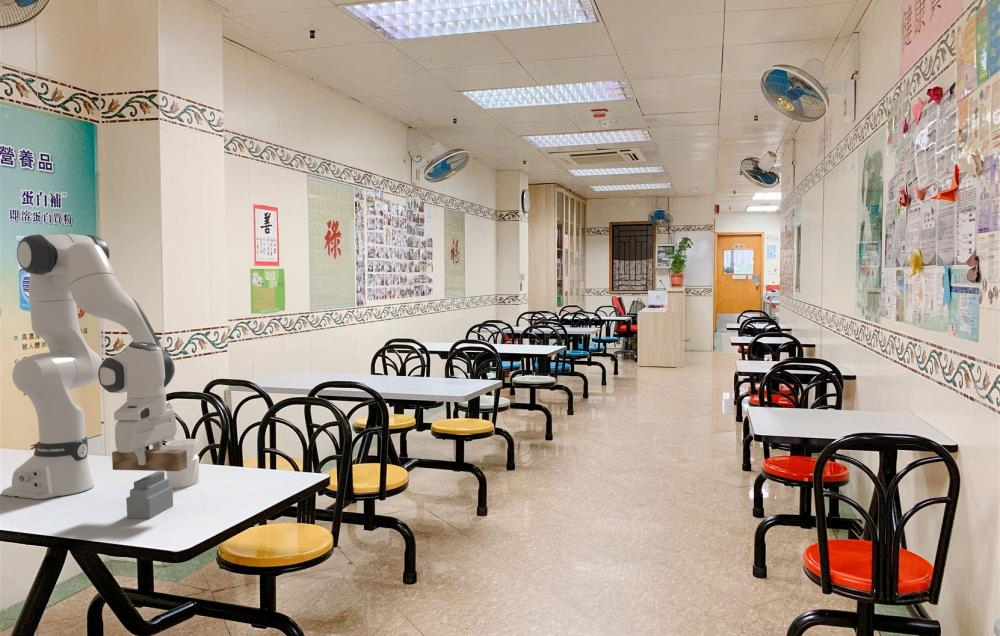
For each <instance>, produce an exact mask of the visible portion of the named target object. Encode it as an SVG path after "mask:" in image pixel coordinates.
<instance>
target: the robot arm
mask: <svg viewBox="0 0 1000 636" xmlns="http://www.w3.org/2000/svg"><path fill="white" fill-rule="evenodd" d="M16 250H17V251H16V258H17V261H18V264H19V266H20V267H21V268H22V269H23V271H25V272H26V273H28V274H29V284H28V298H29V299H28V300H29V310H30V311H29V312H30V322H31V329H32V331H33V333H34V334H35V335H36V336H38V337H40V338H42V339H43V340H44V342H45V343H46V345H47V347H48V352H41V353H36V354H32V355H29V356H26V357H25V358H22V359H20V360H19V361H17V362H16V364H15V365H14V366H13V368H12V369H13V370H12V383H13V384H14V385H15V387H16V389H18V390H19V391H20V392H21V393H23V394H25V395H26V396H27V397H28V398H29V399H30V401H31V403H32V405H33V407H34V410H35V413H36V416H37V423H38V426H37V427H38V437H39V438H38V440H39V441H38V442H36V443H35V444H30V447H31V448H30V450H33V449H34V452H33V455H31V457H30V458H28V459H27V460H26V461H25V462H24V463H22V464H20V466H18V467H17V468H16V469H15V470H14V472H12V473H13V474H12V478H11V485H10V486H8V487H6V488H5V489H3V490H2V491H1V496H6V495H7V496H9V497H15V496H18V497H17V498H25V499H34V500H46V499H49V498H54V497H62V496H68V495H69V496H70V495H73V494H78V493H81V492H86V491H88V490H90V489H92V488H94V486H95V483H94V481H93V478H92V475H91V470H90V467H89V461H88V450H89V443H88V441H89V440H88V437H87V436H86V416H85V411H84V408H83V407H82V406H81V405H78V404H76V403H75V402H74V401H73V398H72V396H71V393H70V390H71V389H74V388H75V389H76V388H81V387H85V386H86V385H89V384H91V383H94V382H95V381H97V380H98V381H99V384H100V386H101V387H102V388H103V389H104V390H105V391H107V392H109V393H111V394H121V393H127V394H126V402H124V403H123V404H122V406H120V407H119V408H117V410H115V412H114V413H113V419H114V421H116V424H115V427H114V439H115V448H116V451H117V450H118V451H119V452H125V453H126V452H133V451H134V453H135V454H136V456H137V458H138V464H139V465H145V464H147V463H148V457H146V455H145V453H144V451H146V449H147V448H146V447H149V446H152V449H160V450H162V448H163V444H164V442H163V441H164V440H167V439H169V438H173V437H175V436H176V434H177V432H178V427H177V426H178V425H177V420H176V418H177V417H176V413H175V411H174V409H173V405H172V404H171V403H170V402H169V401H167V392H166V389H165V388H166V387H167V386H168V385H169V384H170V383H171V381H172V380H173V377H174V376H175V371H176V370H175V369H176V367H175V364H174V361H173V359H172V358H171V356H170V355H169V354H168V352H167V351H166V350H165V348H164V347H163V345H162V343H161V342H160V340H159V338H158V336H157V334H156V333H155V331H154V329H153V327H152V325H151V323H150V321H149V319H148V318H147V315H146V314H145V312H144V310H143V309H142V307H141V305H140V304H139V302H138V301H136V299H135V298H132V297H131V296H130V295H128V293H127V292H126V291H125V289H123V287H122V286H121V284H120V282H119V280H118V279H117V276H116V273H115V270H114V268H113V265H112V263H111V261H110V249H109V246H108V244H107V243H106V241H105V240H104V239H103V238H102V237H98V236H95V235H90V234H87V235H86V234H85V235H83V234H77V233H76V234H74V233H61V234H60V233H59V234H57V233H56V234H53V233H52V234H44V235H43V234H40V233H39V234H32V235H28V236H24V237H23V238H22V239H21V240H20V241H19V243H18V246H17V248H16ZM78 309H80V310H81V311H83V312H84V313H86V314H88V315H91V316H93V317H96V318H101V319H104V320H108V321H111V322H114V323H116V324H118V325H120V326H122V327H123V328H124V329H126V330H127V332H128V334H129V335H130V337H131V339H132V340H133V342H132V343H130V344H128V345H127V346H126V348H125V349H124V350H123V351H121V352H119V353H117V354H115V355H112V356H109V357H106V358H105V359H103V360H102V358H101V356H100V355H99V353H97V352H96V351H94V350H93V349H92V348H91V347H90V346H89V344H88V343H87V340H85V338H84V335H83V332H82V330H81V327H80V322H79V321H80V320H79V313H78ZM7 496H6V497H7Z"/></svg>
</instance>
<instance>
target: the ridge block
mask: <svg viewBox="0 0 1000 636" xmlns="http://www.w3.org/2000/svg"><path fill="white" fill-rule="evenodd" d="M165 477H166V476H165V471H155V472H153V473H151V474H149V475H147V476H145V477H142V478H140V479H138V480H135V481H134V482H133V488H131V489H130V490H129V496H127V497H126V501H125V502H126V518H127V519H142V520H143V519H145V520H146V519H147V520H150V519H152V518H154V517H156V516H157V515H159V514H162V513H163V512H165V511H167V510H169V509H170V508H172V507H173V506H174V491H173V490H174V489H173V488H174V487H169V479H167V478H165Z"/></svg>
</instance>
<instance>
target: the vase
mask: <svg viewBox="0 0 1000 636" xmlns="http://www.w3.org/2000/svg"><path fill="white" fill-rule="evenodd" d="M164 447H165V449H164V450H186V451H187V468H185V469H183V470H181V471H165V474H166V479H169V487H173V488H187V487H192V486H194V485H197V484H199V483H200V482H201V481H200V480H201V476H200V456H199V455H198V454H196V452H198V451H199V440H198V439H197V438H196V439H195V438H194V439H193V438H181V439H175V440H174V439H172V440H169V441H167V442H166V443H165V445H164Z"/></svg>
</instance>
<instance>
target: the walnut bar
mask: <svg viewBox="0 0 1000 636" xmlns="http://www.w3.org/2000/svg"><path fill="white" fill-rule="evenodd" d="M145 449H146V451H144V453H145V455H146V457H148V463H147V464H145V465H139V464H138V458H137V456H136V454H135V453H134V451H133V452H126V453H125V452H119V451H118V450H117V449H116V450H114V451H112V452H111V461H112V462H111V463H112V471H146V472H147V471H149V472H152V471H155V472H157V471H164V472H166V471H181V470H183V469H185V468H187V451H186V450H165V449H161V450H160V449H153V448H151V449H150V448H148V449H147V448H145Z"/></svg>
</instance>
